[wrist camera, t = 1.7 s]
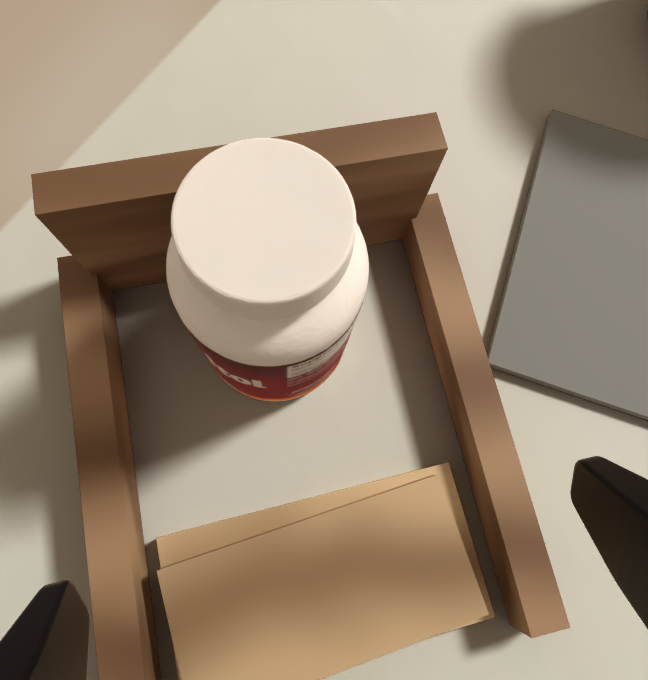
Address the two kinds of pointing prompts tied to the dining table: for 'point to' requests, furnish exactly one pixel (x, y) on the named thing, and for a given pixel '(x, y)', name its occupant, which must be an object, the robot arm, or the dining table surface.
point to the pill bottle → (267, 265)
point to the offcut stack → (322, 581)
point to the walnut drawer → (150, 267)
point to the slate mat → (581, 270)
